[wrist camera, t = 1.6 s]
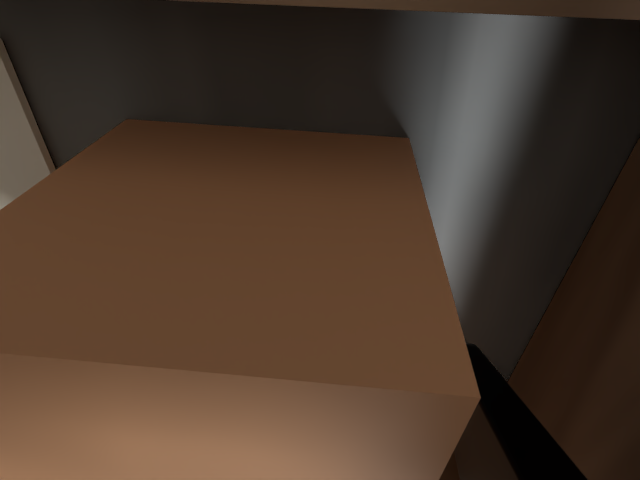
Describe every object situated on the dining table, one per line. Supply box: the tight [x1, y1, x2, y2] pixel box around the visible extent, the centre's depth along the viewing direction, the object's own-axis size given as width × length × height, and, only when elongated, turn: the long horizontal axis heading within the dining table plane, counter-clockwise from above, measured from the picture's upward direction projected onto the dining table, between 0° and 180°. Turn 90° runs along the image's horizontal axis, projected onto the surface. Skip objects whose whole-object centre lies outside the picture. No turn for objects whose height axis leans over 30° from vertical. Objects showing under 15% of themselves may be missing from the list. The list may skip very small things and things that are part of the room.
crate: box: [0, 119, 481, 480], centre depth 8 cm, size 6×8×6 cm
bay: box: [0, 0, 640, 480], centre depth 9 cm, size 21×16×4 cm
